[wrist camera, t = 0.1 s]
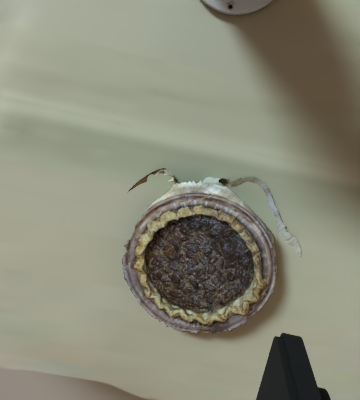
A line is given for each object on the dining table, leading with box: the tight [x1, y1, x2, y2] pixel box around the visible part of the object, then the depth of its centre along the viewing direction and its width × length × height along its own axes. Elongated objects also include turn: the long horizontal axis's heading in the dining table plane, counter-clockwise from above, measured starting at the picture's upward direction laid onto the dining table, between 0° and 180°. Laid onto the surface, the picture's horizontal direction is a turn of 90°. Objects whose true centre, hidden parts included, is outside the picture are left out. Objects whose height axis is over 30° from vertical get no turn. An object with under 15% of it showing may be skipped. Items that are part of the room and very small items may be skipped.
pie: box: [122, 168, 301, 335], centre depth 48 cm, size 28×27×5 cm
